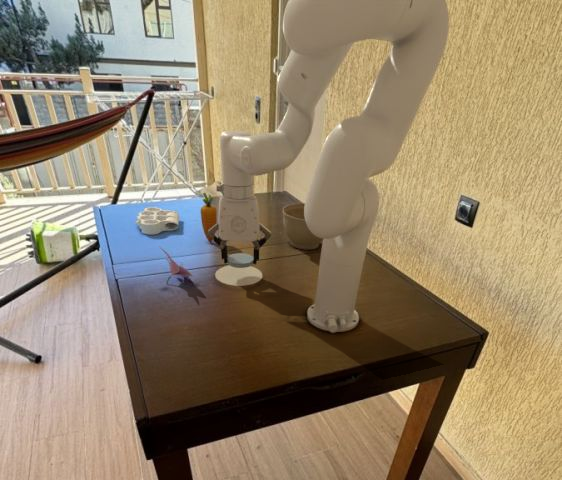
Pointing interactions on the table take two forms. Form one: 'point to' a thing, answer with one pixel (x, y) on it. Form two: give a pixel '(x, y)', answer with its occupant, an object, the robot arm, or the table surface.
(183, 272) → the lily
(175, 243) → the table surface
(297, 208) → the planter bowl
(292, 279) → the table surface
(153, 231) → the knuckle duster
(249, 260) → the blue-grey cylinder
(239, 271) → the dessert plate
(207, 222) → the carrot
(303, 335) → the table surface
